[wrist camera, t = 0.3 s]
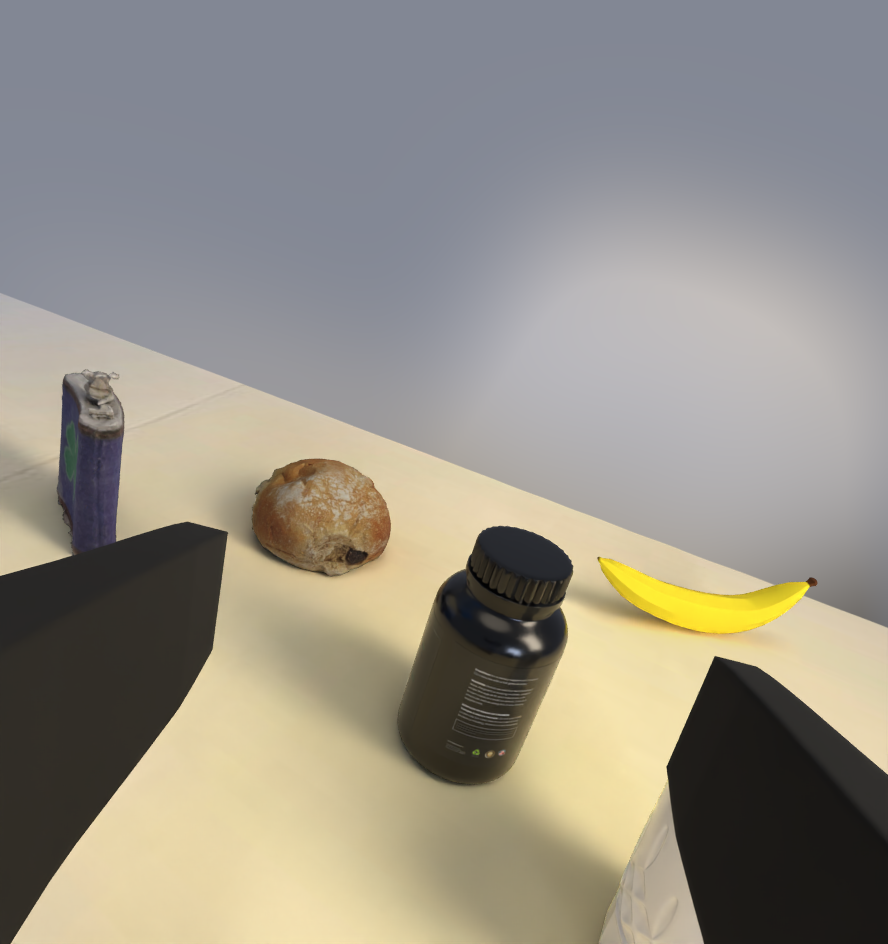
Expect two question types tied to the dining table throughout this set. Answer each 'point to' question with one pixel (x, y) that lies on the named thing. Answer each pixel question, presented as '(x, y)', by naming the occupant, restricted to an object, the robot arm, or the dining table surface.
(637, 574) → the banana
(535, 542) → the supplement bottle
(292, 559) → the bread roll
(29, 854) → the robot arm
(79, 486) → the flask
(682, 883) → the white cup
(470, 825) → the dining table surface
